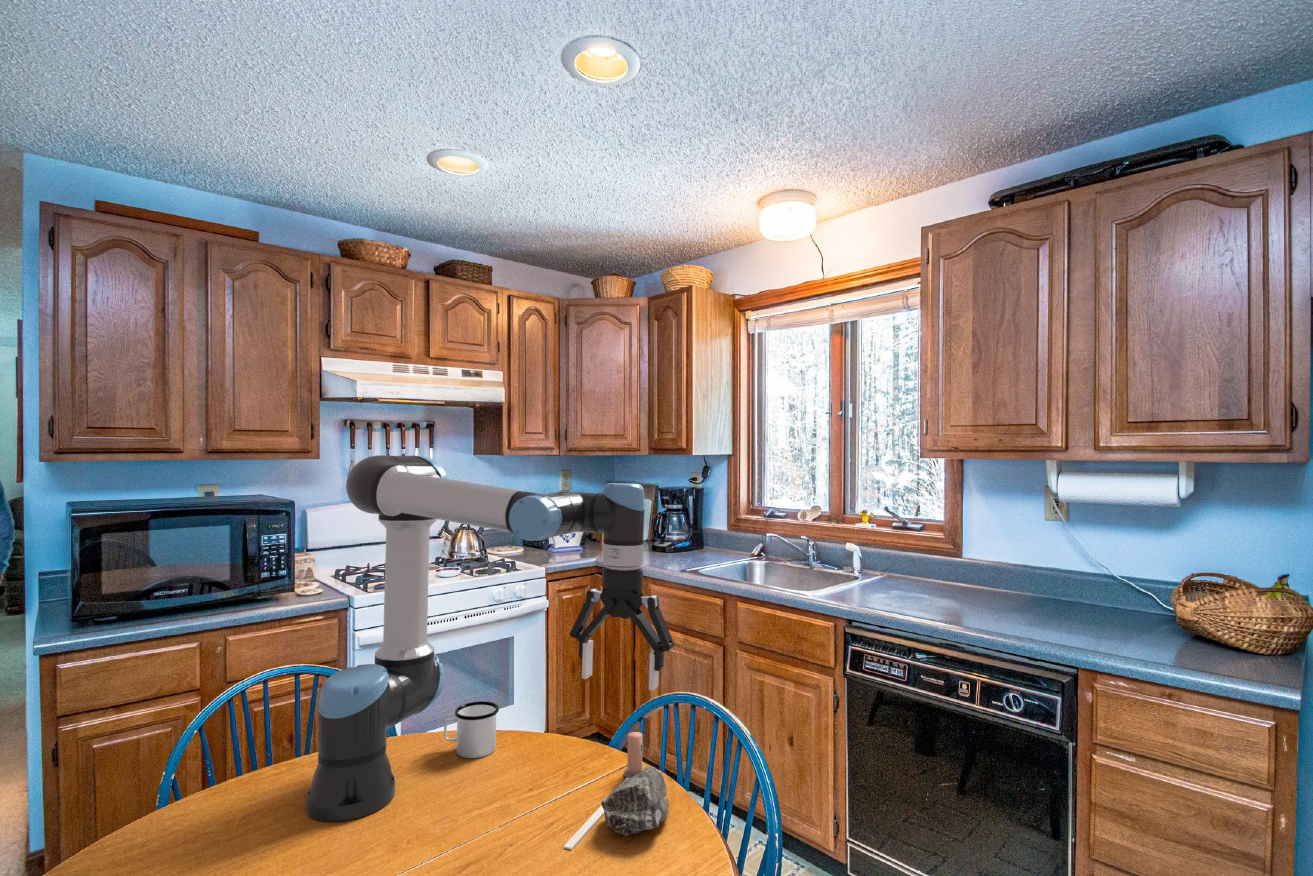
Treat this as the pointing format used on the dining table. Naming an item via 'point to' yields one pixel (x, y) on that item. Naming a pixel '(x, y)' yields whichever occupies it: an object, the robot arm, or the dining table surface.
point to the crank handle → (631, 771)
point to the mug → (475, 729)
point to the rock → (637, 803)
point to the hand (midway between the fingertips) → (619, 682)
